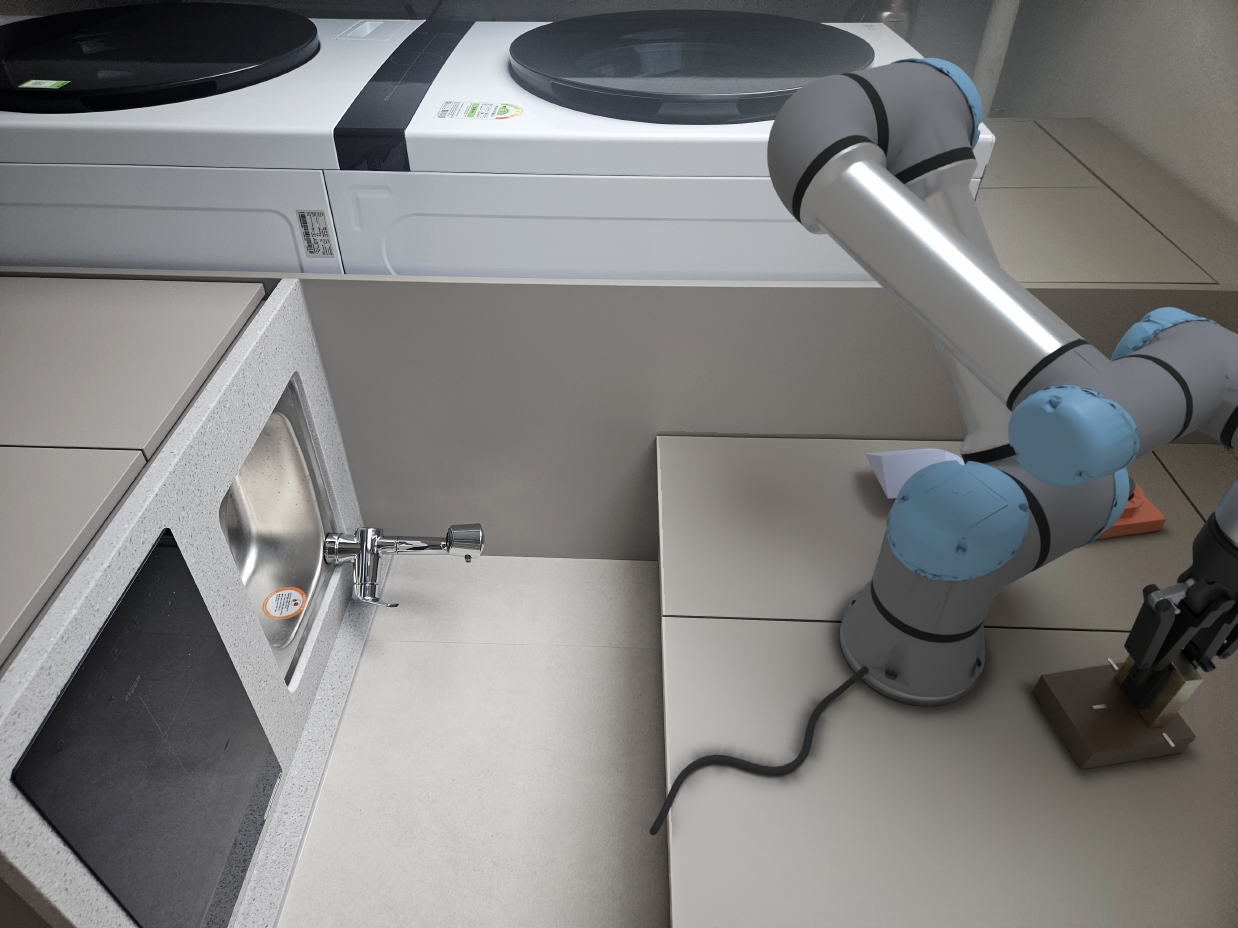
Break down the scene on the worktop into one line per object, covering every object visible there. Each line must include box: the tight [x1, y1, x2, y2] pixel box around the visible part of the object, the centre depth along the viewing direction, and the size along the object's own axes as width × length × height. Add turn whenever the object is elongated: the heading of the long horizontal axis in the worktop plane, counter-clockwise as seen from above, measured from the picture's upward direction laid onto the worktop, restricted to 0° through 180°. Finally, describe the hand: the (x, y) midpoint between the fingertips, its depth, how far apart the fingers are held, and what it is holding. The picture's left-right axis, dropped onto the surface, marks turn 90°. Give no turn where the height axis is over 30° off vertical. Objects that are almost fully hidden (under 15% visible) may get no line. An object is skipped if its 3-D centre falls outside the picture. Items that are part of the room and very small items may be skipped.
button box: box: [1095, 480, 1167, 540], centre depth 104 cm, size 10×9×4 cm
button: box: [1128, 475, 1136, 499], centre depth 103 cm, size 4×4×2 cm
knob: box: [1114, 651, 1204, 728], centre depth 79 cm, size 6×2×8 cm, turn 7°
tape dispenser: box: [864, 447, 965, 499], centre depth 107 cm, size 9×7×13 cm
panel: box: [1032, 657, 1197, 770], centre depth 82 cm, size 13×10×3 cm
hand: (1143, 695), depth 81 cm, fingers closed on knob, 2 cm apart
